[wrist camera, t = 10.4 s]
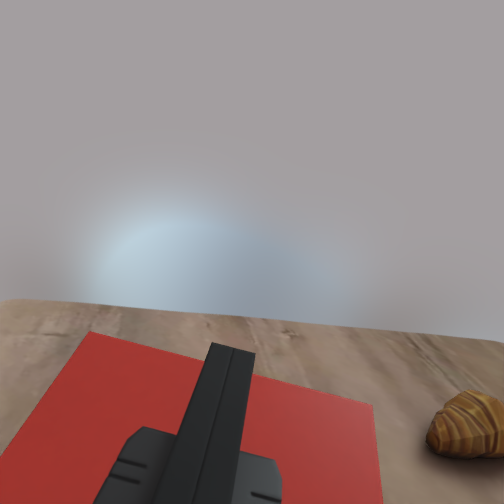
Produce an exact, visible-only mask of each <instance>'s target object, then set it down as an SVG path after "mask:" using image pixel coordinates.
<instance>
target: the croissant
mask: <svg viewBox="0 0 504 504" xmlns="http://www.w3.org/2000/svg"><path fill="white" fill-rule="evenodd" d="M426 443H427V445H428V446H429V448H430V449H431V450H433V451H434V452H435V453H437V454H441V455H444V456H448V457H452V458H463V459H471V458H474V457H481V458H501V457H504V403H503V402H501V401H499V400H497V399H495V398H492V397H490V396H488V395H486V394H484V393H482V392H480V391H474V390H466V391H464V392H462V393H460V394H458V395H457V396H455V397H454V398H452V399H451V400H450V401H448V402H447V403H445V405H444V408H443V409H442V410H440V411H438V412H437V413H436V415H435V417H434V419H433V421H432V423H431V426H430V428H429V430H428V433H427V435H426Z"/></svg>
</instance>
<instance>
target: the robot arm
mask: <svg viewBox="0 0 504 504" xmlns="http://www.w3.org/2000/svg"><path fill="white" fill-rule="evenodd" d="M255 354H256V353H252V352H248V351H244V350H240V349H236V348H232V347H229V346H225V345H221V344H217V343H213V342H212V343H211V346H210V348H209V351H208V354H207V356H206V359H205V362H204V364H203V367H202V369H201V372H200V375H199V377H198V380H197V383H196V385H195V388H194V390H193V393H192V396H191V398H190V401H189V404H188V406H187V409H186V411H185V414H184V417H183V419H182V422H181V425H180V427H179V430H178V432H177V435H175V434H172V433H168V432H164V431H160V430H157V429H153V428H149V427H145V426H142V427H141V428H140V429H138V430H137V431H136V432H135V433H134V434H132V435H131V436H130V437H129V438H128V439H127V440H126V442H125V444H124V445H123V447H122V449H121V451H120V453H119V455H118V457H117V459H116V461H115V462H114V464H113V466H112V468H111V470H110V471H109V474H108V476H107V477H106V479H105V481H104V483H103V484H102V486H101V488H100V490H99V492H98V494H97V496H96V498H95V499H94V501H93V503H92V504H281V502H282V477H281V474H280V472H279V469H278V466H277V464H276V461H275V460H274V459H270V458H267V457H263V456H259V455H255V454H252V453H248V452H244V451H240V446H241V440H242V434H243V428H244V422H245V416H246V410H247V403H248V397H249V391H250V385H251V379H252V373H253V367H254V360H255Z"/></svg>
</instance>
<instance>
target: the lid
mask: <svg viewBox="0 0 504 504" xmlns="http://www.w3.org/2000/svg"><path fill="white" fill-rule="evenodd" d="M204 362H205V361H202V360H198V359H194V358H190V357H187V356H183V355H179V354H175V353H171V352H167V351H164V350H160V349H156V348H152V347H148V346H144V345H141V344H137V343H133V342H129V341H125V340H121V339H118V338H114V337H110V336H106V335H102V334H98V333H95V332H91V331H89V332H88V334H87V335H86V336H85V338H84V339H83V341H82V342H81V344H80V345H79V346H78V348H77V349H76V351H75V352H74V353H73V355H72V356H71V358H70V359H69V361H68V362H67V363H66V365H65V366H64V368H63V369H62V370H61V372H60V373H59V375H58V376H57V378H56V379H55V380H54V382H53V383H52V385H51V386H50V387H49V389H48V390H47V392H46V393H45V394H44V396H43V397H42V399H41V400H40V402H39V403H38V404H37V406H36V407H35V409H34V410H33V411H32V413H31V414H30V416H29V417H28V419H27V420H26V421H25V423H24V424H23V426H22V427H21V428H20V430H19V431H18V433H17V434H16V435H15V437H14V438H13V440H12V441H11V443H10V444H9V445H8V447H7V448H6V450H5V451H4V452H3V454H2V455H1V457H0V504H92V503H93V501H94V499H95V498H96V496H97V494H98V492H99V490H100V488H101V486H102V484H103V483H104V481H105V479H106V477H107V476H108V474H109V471H110V470H111V468H112V466H113V464H114V462H115V461H116V459H117V457H118V455H119V453H120V451H121V449H122V447H123V445H124V444H125V442H126V440H127V439H128V438H129V437H130V436H131V435H132V434H134V433H135V432H136V431H137V430H138V429H140V428H141V427H142V426H145V427H149V428H153V429H157V430H160V431H164V432H168V433H172V434H175V435H177V432H178V430H179V427H180V425H181V422H182V419H183V417H184V414H185V411H186V409H187V406H188V404H189V401H190V398H191V396H192V393H193V390H194V388H195V385H196V383H197V380H198V377H199V375H200V372H201V369H202V367H203V364H204ZM240 451H244V452H248V453H252V454H255V455H259V456H263V457H267V458H270V459H274V460H275V461H276V464H277V466H278V469H279V472H280V474H281V477H282V502H281V504H383V496H382V487H381V479H380V470H379V461H378V452H377V443H376V434H375V425H374V416H373V407H372V405H370V404H367V403H363V402H359V401H355V400H351V399H347V398H344V397H340V396H336V395H332V394H328V393H324V392H321V391H317V390H313V389H309V388H305V387H301V386H298V385H294V384H290V383H286V382H282V381H278V380H275V379H271V378H267V377H263V376H259V375H255V374H252V379H251V385H250V391H249V397H248V403H247V410H246V416H245V422H244V428H243V434H242V440H241V446H240Z"/></svg>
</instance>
